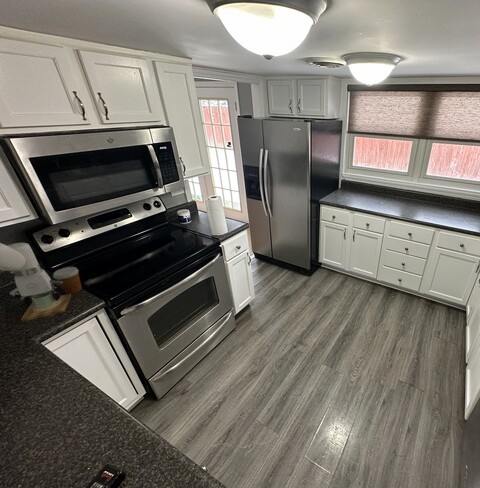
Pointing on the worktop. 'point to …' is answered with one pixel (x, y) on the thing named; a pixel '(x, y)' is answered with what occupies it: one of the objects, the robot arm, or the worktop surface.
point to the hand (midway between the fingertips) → (44, 301)
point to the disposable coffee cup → (69, 279)
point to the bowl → (44, 302)
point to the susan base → (58, 309)
